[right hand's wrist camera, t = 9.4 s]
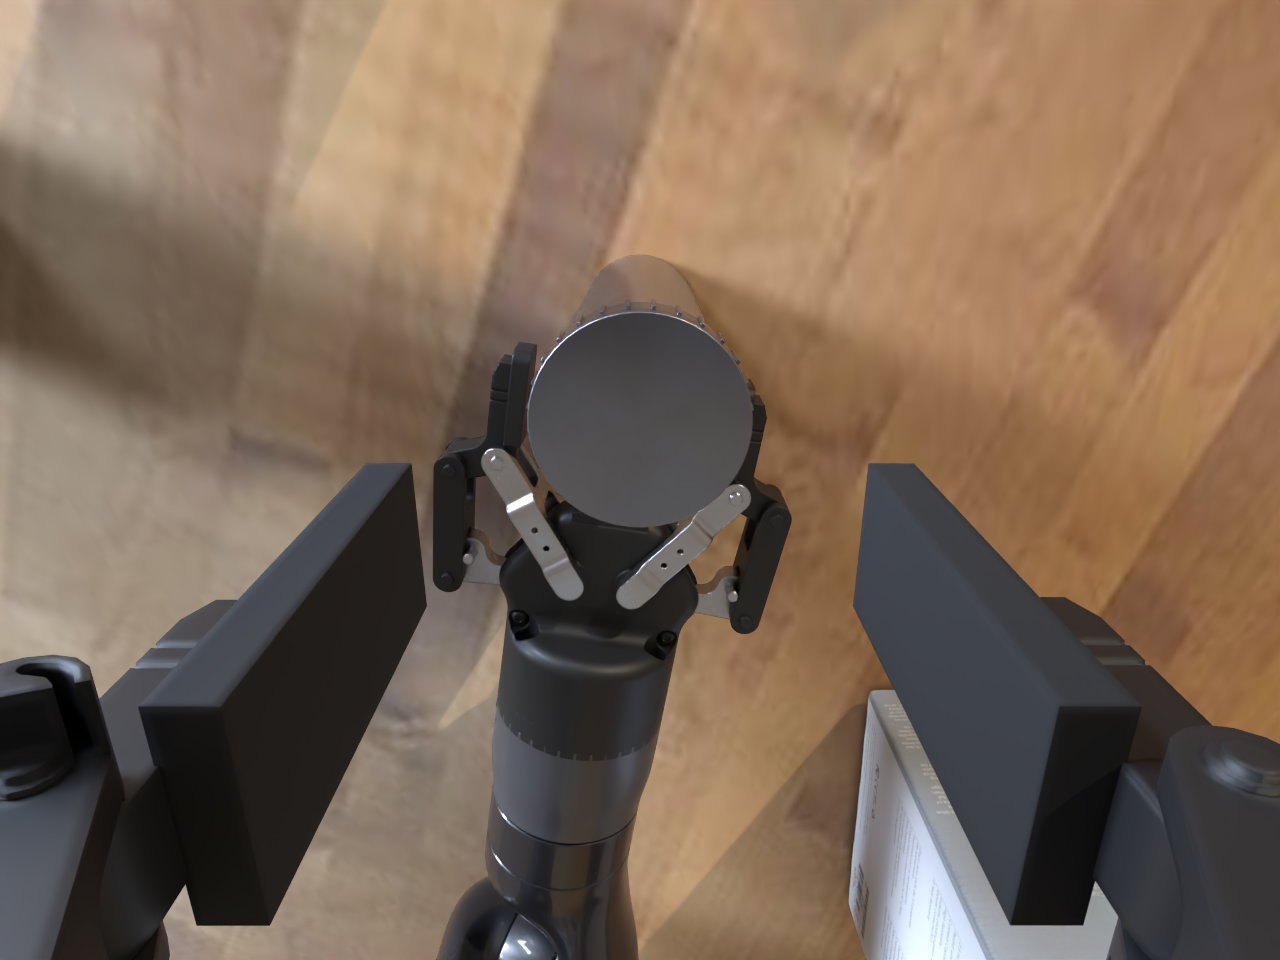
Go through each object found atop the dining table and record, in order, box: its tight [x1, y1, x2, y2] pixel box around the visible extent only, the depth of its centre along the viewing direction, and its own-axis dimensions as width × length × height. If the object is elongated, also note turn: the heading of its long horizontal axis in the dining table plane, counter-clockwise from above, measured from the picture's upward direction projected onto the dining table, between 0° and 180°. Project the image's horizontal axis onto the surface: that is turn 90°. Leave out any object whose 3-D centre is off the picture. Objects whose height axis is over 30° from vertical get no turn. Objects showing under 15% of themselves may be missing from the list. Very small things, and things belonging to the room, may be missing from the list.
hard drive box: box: [849, 690, 1118, 960], centre depth 37 cm, size 16×8×20 cm, turn 1°
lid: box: [526, 299, 754, 528], centre depth 21 cm, size 6×6×2 cm
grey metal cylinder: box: [573, 255, 707, 325], centre depth 28 cm, size 5×5×17 cm
